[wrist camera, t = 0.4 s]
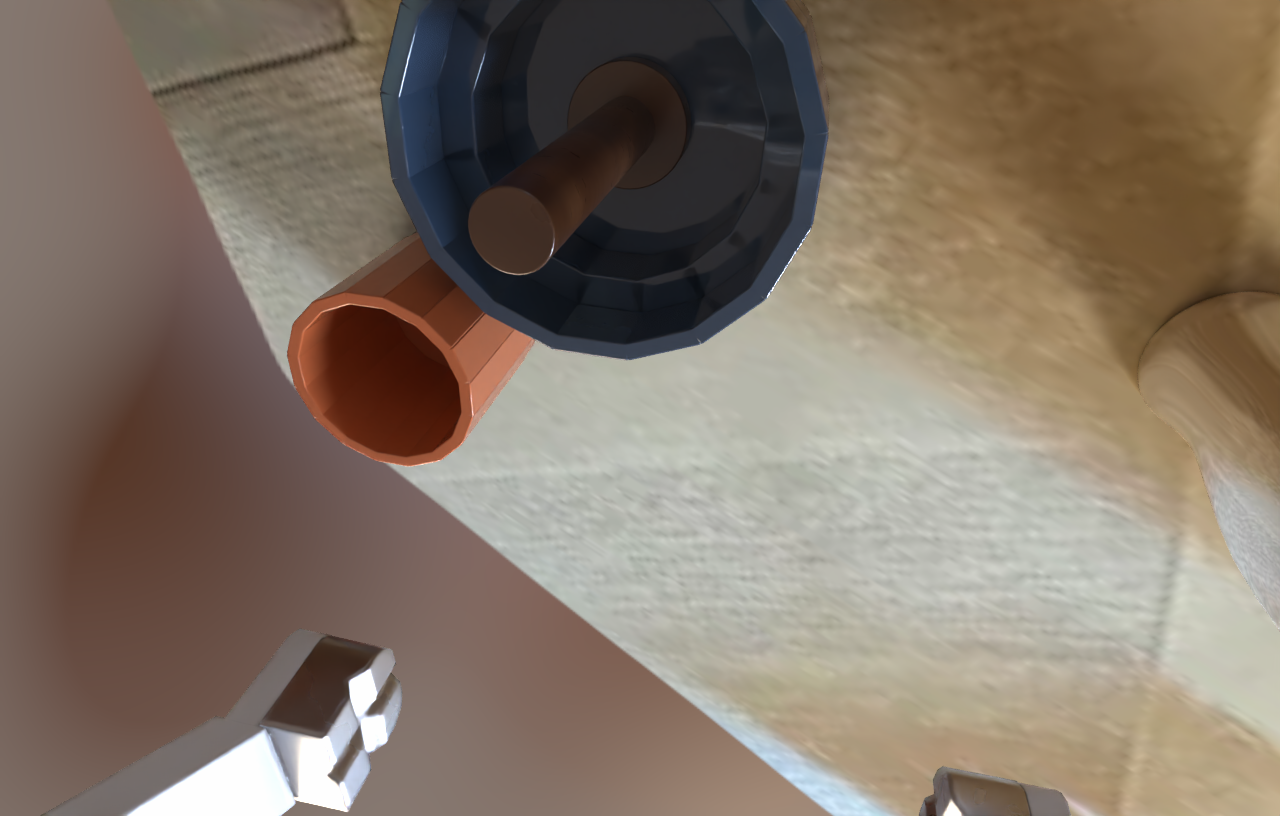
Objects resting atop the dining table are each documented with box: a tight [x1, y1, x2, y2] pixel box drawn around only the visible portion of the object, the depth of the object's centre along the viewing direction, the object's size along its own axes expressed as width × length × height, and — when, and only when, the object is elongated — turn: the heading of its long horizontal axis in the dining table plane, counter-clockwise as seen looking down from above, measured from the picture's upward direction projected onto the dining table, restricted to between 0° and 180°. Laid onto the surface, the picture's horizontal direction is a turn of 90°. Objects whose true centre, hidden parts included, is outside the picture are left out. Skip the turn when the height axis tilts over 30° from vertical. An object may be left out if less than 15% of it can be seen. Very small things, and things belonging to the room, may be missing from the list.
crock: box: [287, 232, 535, 466], centre depth 32 cm, size 8×8×8 cm
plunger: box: [468, 57, 691, 275], centre depth 23 cm, size 5×5×13 cm
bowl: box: [380, 0, 829, 360], centre depth 26 cm, size 14×14×6 cm
